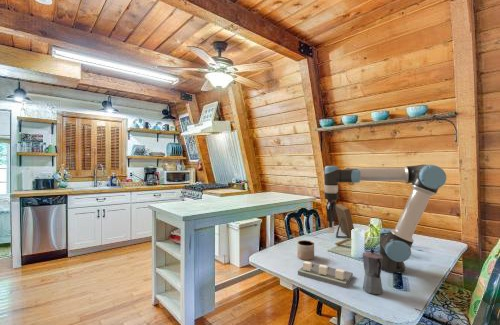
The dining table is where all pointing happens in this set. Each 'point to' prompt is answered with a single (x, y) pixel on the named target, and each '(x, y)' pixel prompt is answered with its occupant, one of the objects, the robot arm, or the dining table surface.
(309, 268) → the block
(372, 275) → the moka pot
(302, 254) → the planter
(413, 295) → the dining table surface
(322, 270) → the block
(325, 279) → the switch board
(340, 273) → the block
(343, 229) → the photo frame
